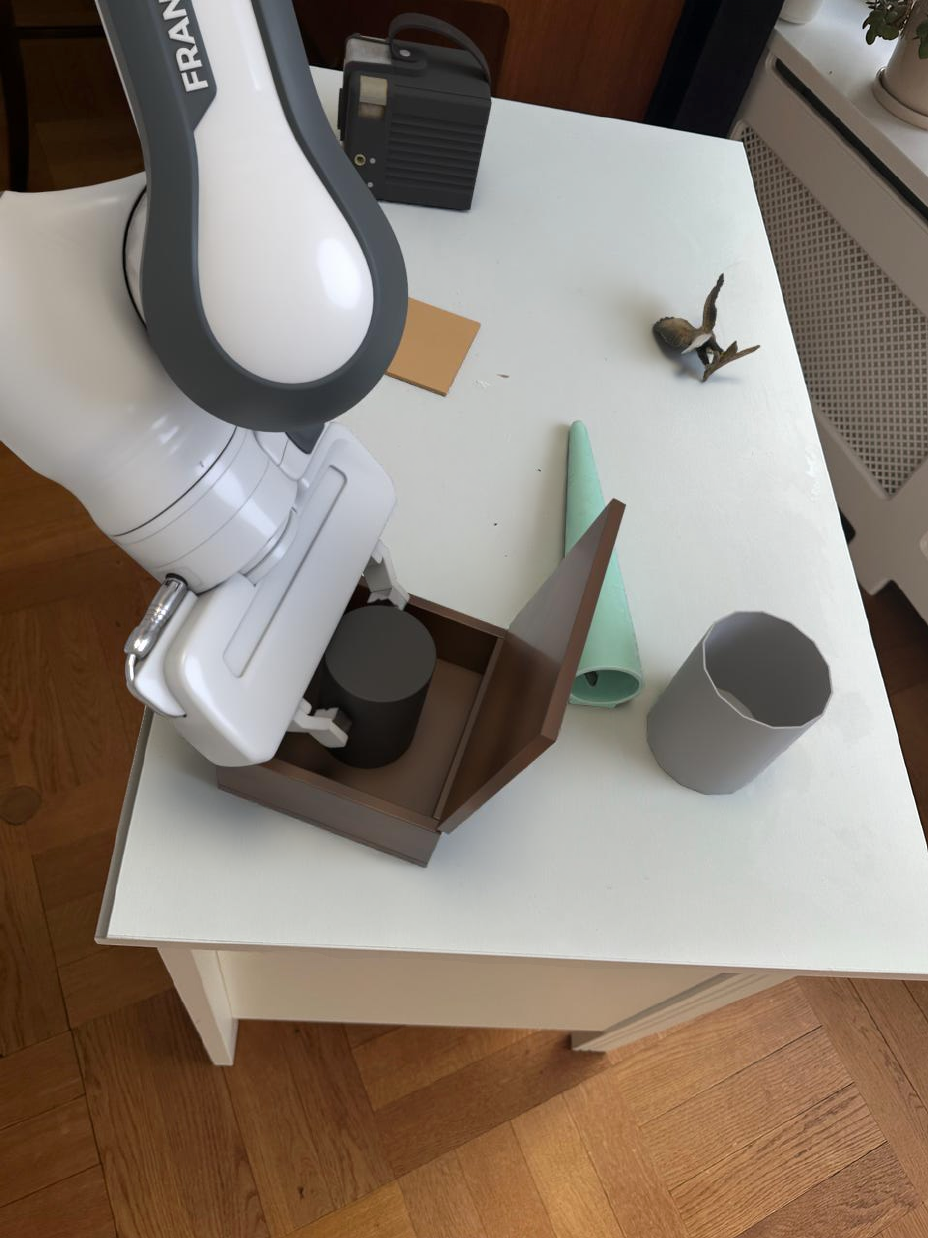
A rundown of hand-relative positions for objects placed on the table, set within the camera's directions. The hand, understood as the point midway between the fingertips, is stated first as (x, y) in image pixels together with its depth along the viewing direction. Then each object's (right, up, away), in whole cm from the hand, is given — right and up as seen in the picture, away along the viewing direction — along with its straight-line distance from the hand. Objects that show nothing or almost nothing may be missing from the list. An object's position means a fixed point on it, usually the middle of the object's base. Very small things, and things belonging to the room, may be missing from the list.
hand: (371, 670), depth 56 cm
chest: (-1, -4, +5) cm, 7 cm away
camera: (-1, +48, +40) cm, 62 cm away
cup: (+22, -5, +10) cm, 25 cm away
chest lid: (+9, 0, -6) cm, 10 cm away
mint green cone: (+15, +8, +17) cm, 24 cm away
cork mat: (+1, +27, +26) cm, 38 cm away
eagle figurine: (+27, +28, +32) cm, 51 cm away
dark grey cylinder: (-1, -4, +4) cm, 6 cm away
